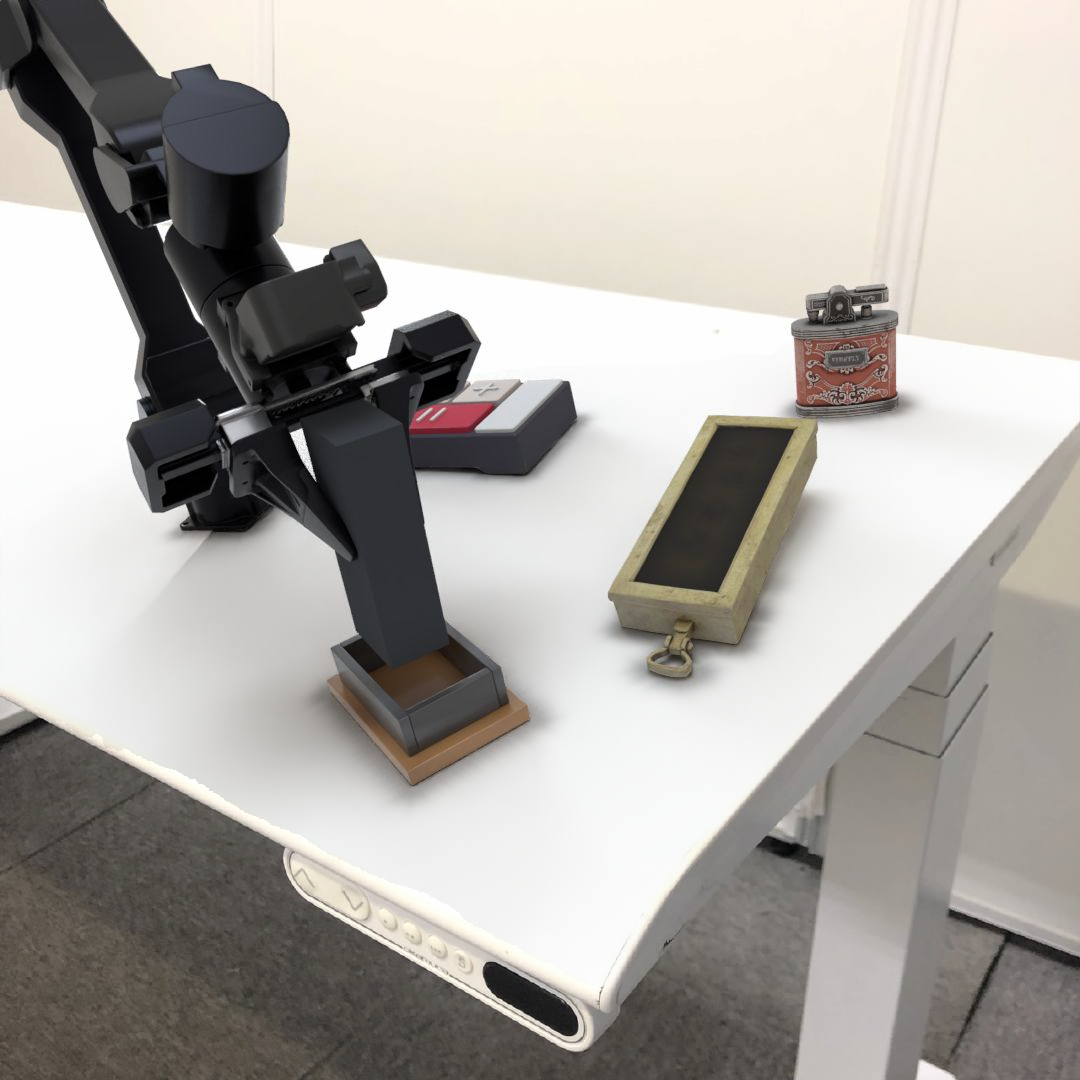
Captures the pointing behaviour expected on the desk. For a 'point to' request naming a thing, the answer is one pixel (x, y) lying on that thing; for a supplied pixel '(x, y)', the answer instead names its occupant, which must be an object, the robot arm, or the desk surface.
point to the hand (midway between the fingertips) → (387, 543)
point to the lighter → (845, 354)
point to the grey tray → (426, 702)
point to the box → (715, 533)
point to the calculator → (493, 425)
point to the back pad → (379, 529)
